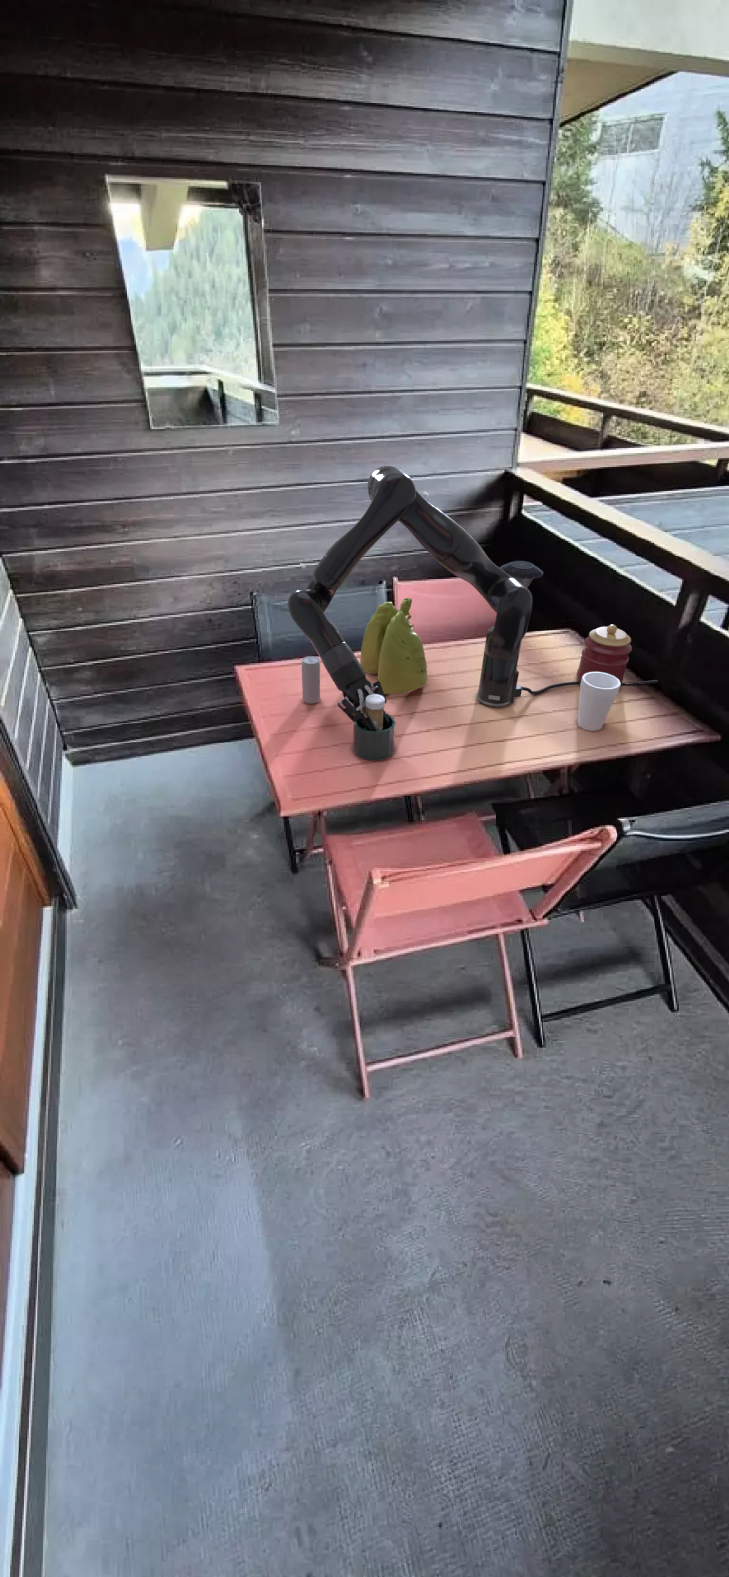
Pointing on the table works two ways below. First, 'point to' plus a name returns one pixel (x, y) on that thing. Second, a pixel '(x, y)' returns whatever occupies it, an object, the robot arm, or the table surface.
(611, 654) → the kitchen canister
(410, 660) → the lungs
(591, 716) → the foam cup
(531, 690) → the robot arm
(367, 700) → the sprinkles bottle
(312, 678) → the beverage can
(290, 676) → the table surface
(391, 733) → the cup
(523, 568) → the solar garden light
